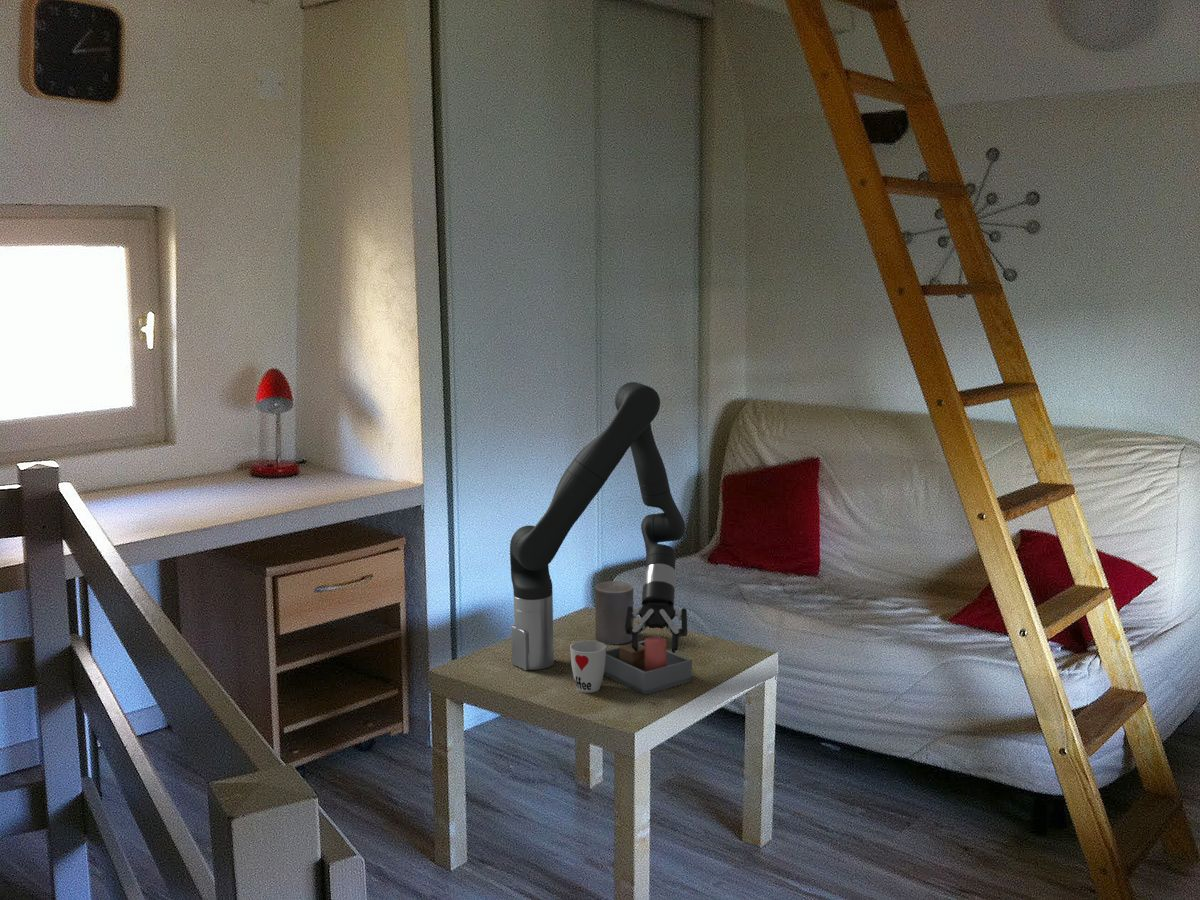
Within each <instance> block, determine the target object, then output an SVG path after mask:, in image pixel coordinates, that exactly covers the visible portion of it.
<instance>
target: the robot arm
mask: <svg viewBox="0 0 1200 900" xmlns="http://www.w3.org/2000/svg"><path fill="white" fill-rule="evenodd" d="M614 405H615V409H616V411H617V412H616V414H615V415H614V417H613V418H612V420H611V421H610V422H609V424H608V425H607V427H606V428H605V429H604V430H603V431H602V432H601V433H600V434H599V435H598V436H596V437H595V438H594V439H592V440H591V441H589V443H588V444H586V445H585V446H584V447H583V448H582V449H581V450H580V451H579V452H578V453H577V455H576V456H575V457H574V458H573V459H572V461H571V462H570V464H569V465H568V466H567V468H566V469H565V471H564V472H563V474H562V476H561V477H560V479H559V481H558V483H557V486H556V488H555V491H554V494H553V497H552V500H551V502H550V504H549V506H548V508H547V509H546V512H545V513H544V514H543V516H542V517H541V518H540V520H539V521H537V523H536V524H535V525H528V524H527V525H524V526H521V527H520V528H518V529H517V530H516V531H514V533H513V535H512V537H511V539H510V542H509V543H510V544H509V560H510V578H511V579H510V580H511V583H512V590H513V616H514V617H513V618H514V619H513V620H514V621H513V622H514V625H511V627H510V635H511V637H510V639H511V640H510V642H511V644H510V645H511V664H512V665H514V666H516V667H517V666H518V668H520V669H521V668H522V669H521V670H523V671H531V670H532V671H533V670H534V671H535V670H536V671H537V670H543V669H548V668H550V667H552V666H553V665H554V664H555V660H554V659H555V651H554V649H555V647H554V646H555V645H554V608H553V607H554V606H553V605H554V603H553V602H554V601H553V600H554V599H553V596H554V595H553V582H552V578H551V574H550V570H549V569H550V568H549V565H550V564H551V563H552V561H553V559H554V558H555V557H556V555H557V553H558V551H559V550H560V548H561V546H562V544H563V542H564V540H565V539H566V538H567V536H568V534H569V532H570V530H571V529H572V528H573V526H574V525H575V523H576V522H577V520H579V518H580V517H581V516H582V514H583V513H584V512H585V510H587V507H589V505H590V504H591V502H592V501H593V500H594V498H595V497H596V496H597V495H598V493H599V492H600V490H601V489H602V488H603V487H604V485H605V483H606V482H607V481H608V479H609V478H610V476H611V475H612V473H613V471H614V470H615V469H616V467H617V466H618V465H619V463H620V462H621V460H622V459H623V457H624V456H625V454H626V452H627V451H628V450H629V448H630V450H631V454H632V457H633V462H634V467H635V472H636V476H637V480H638V485H639V486H638V487H639V490H640V496H641V499H642V503H643V504H644V505H645V506H647V507H648V508H649V507H650V508H656V509H660V510H661V511H662V512H659V513H658V512H657V513H651V514H647V515H646V516H644V518H643V519H642V521H641V523H640V529H641V530H640V531H641V534H642V537H643V542H644V547H645V554H646V555H645V571H644V575H643V581H642V582H643V583H642V594H641V606H640V607H639V608H634V607H633V608H632V607H631V606H629V607H628V609H627V616H626V622H625V631H626V634H631V635H632V640H631V644H632V648H633V649H634V650H635V651H638V642H640V640H639V639H640V637H639V635H640V634H641V633H642V632H644V631H645V630H646V629H647V628H650V629H662V630H663V629H664V628H666V629H667V630H668V632H669V633H670V634H671V635H672V636H671V637H672V638H671V652H672V653H675V654H676V651H679V643H680V638H681V637H687V636H688V612H687V609H686V608H684V607H683V608H682V609H681V610H679V609H678V610H677V609H676V610H675V595H676V594H675V592H676V587H677V586H676V559H677V556H676V550H675V549H674V548H673V547H672V546H670V545H668V544H664V543H666V542H675V541H679V540H681V539H682V538H683V537H684V535H685V533H686V523H685V520H684V517H683V515H682V514H681V512H680V510H679V508H678V506H677V505H676V502H675V500H674V498H673V495H672V492H671V488H670V483H669V479H668V475H667V470H666V466H665V464H664V461H663V459H662V456H661V453H660V451H659V449H658V446H657V444H656V440H655V438H654V434H653V430H652V425H651V423H652V422H653V421H654V419H655V418H656V417H657V416H658V413H659V412H660V408H661V398H660V395H659V394H658V392H657V391H656V390H655V389H654V388H652V387H651V386H649V385H646V384H643V383H640V382H636V381H631V382H626V383H624V384H623V385H621V386H620V387H619V389H618V390H617V391H616V393H615V398H614ZM659 543H660V544H659ZM662 543H663V544H662ZM638 615H639V617H640V619H639V620H638V622H637V623H636V624H635V626H633V627H632V620H633V621H634V619H636V618H637V616H638ZM675 617H677V618H678V620H679V621H681V628H678V627H677V626H676V625H675V623H674V622H673V620H674V618H675Z"/></svg>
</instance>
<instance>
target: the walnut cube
mask: <svg viewBox="0 0 1200 900" xmlns="http://www.w3.org/2000/svg"><path fill="white" fill-rule="evenodd" d="M628 644H629V645H628ZM628 644H625V645H622V646H618V647H619V660H621V661H623V662H625V663H627V664H630V665H632V666H634V667H636V668H638V669H640V670H642V671H643V670H645V646H643V645H641V644H638V651H635V650H634V649H633V648H632V643H628Z"/></svg>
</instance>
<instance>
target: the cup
mask: <svg viewBox="0 0 1200 900" xmlns="http://www.w3.org/2000/svg"><path fill="white" fill-rule="evenodd" d="M569 649H570V651H569V652H570V662H571V663H570V665H571V670H572V675H573V680H574V683H575V686H576V689H577V691H578V692H581V693H584V694H585V693H586V694H589V693H591V694H592V693H596V692H598V691H599V690H600V688H601V686H602V682H603V679H604V675H603V674H604V668H605V658H606V650H607V644H605V643H602V642H599V641H597V640H580V641H575V642H573V643H571V644H570V645H569Z"/></svg>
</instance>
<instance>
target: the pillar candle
mask: <svg viewBox="0 0 1200 900" xmlns="http://www.w3.org/2000/svg"><path fill="white" fill-rule="evenodd" d="M594 590H595V592H594V593H595V616H594V617H595V618H594V619H595V641H598V642H602V643H604V644H605V645H622V644H623V645H624V644H629V643H630V642H632V635H631V634H626V631H625V622H626V616H627V609H628V607H629V606H631V607H632V608H633V609H634V584H632V583H629V582H625V581H622V580H621V581H619V580H608V581H602V582H600V583H598V584H596V585H595V589H594ZM632 627H633V628H634V619H633V620H632Z"/></svg>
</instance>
